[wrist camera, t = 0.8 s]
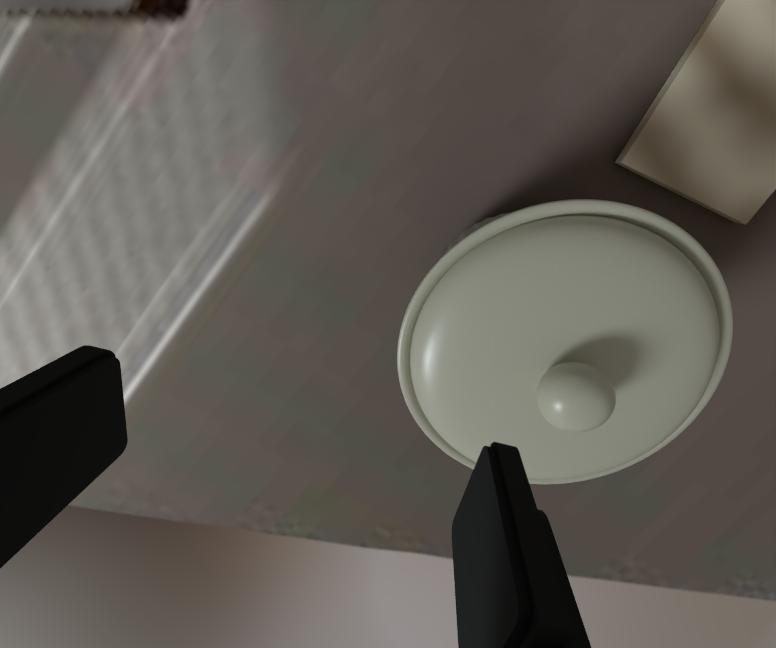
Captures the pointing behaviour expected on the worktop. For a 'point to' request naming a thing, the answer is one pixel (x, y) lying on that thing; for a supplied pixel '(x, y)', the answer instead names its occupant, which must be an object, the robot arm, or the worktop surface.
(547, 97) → the worktop surface
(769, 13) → the birch board
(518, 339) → the canister
